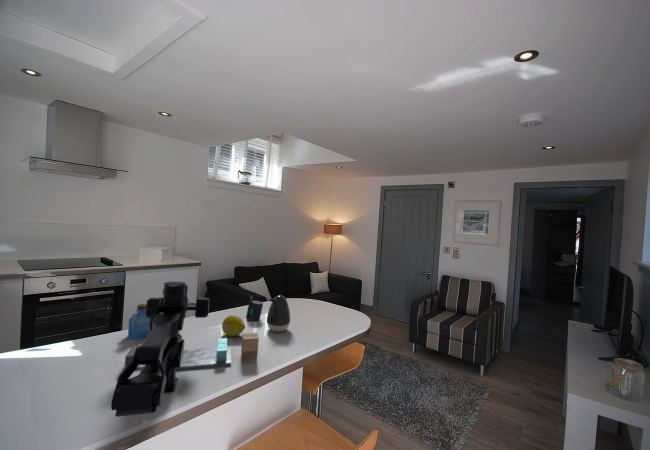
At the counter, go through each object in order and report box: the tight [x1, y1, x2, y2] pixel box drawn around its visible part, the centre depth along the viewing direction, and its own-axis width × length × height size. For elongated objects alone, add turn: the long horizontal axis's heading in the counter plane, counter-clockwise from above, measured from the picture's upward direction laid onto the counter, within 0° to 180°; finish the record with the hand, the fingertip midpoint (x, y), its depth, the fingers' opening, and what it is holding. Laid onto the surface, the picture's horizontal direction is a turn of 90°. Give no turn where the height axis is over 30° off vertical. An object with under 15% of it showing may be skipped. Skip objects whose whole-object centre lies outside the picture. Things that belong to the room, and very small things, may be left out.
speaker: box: [245, 296, 264, 322], centre depth 141 cm, size 8×6×10 cm
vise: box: [176, 337, 232, 371], centre depth 99 cm, size 24×12×5 cm, turn 108°
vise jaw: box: [124, 344, 141, 367], centre depth 95 cm, size 11×10×4 cm
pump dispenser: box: [266, 294, 291, 333], centre depth 131 cm, size 10×10×15 cm
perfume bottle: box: [127, 303, 151, 342], centre depth 114 cm, size 6×6×12 cm
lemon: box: [221, 314, 246, 337], centre depth 121 cm, size 11×8×8 cm
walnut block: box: [240, 332, 259, 363], centre depth 102 cm, size 5×5×8 cm
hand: (182, 301), depth 107 cm, fingers open, 9 cm apart
